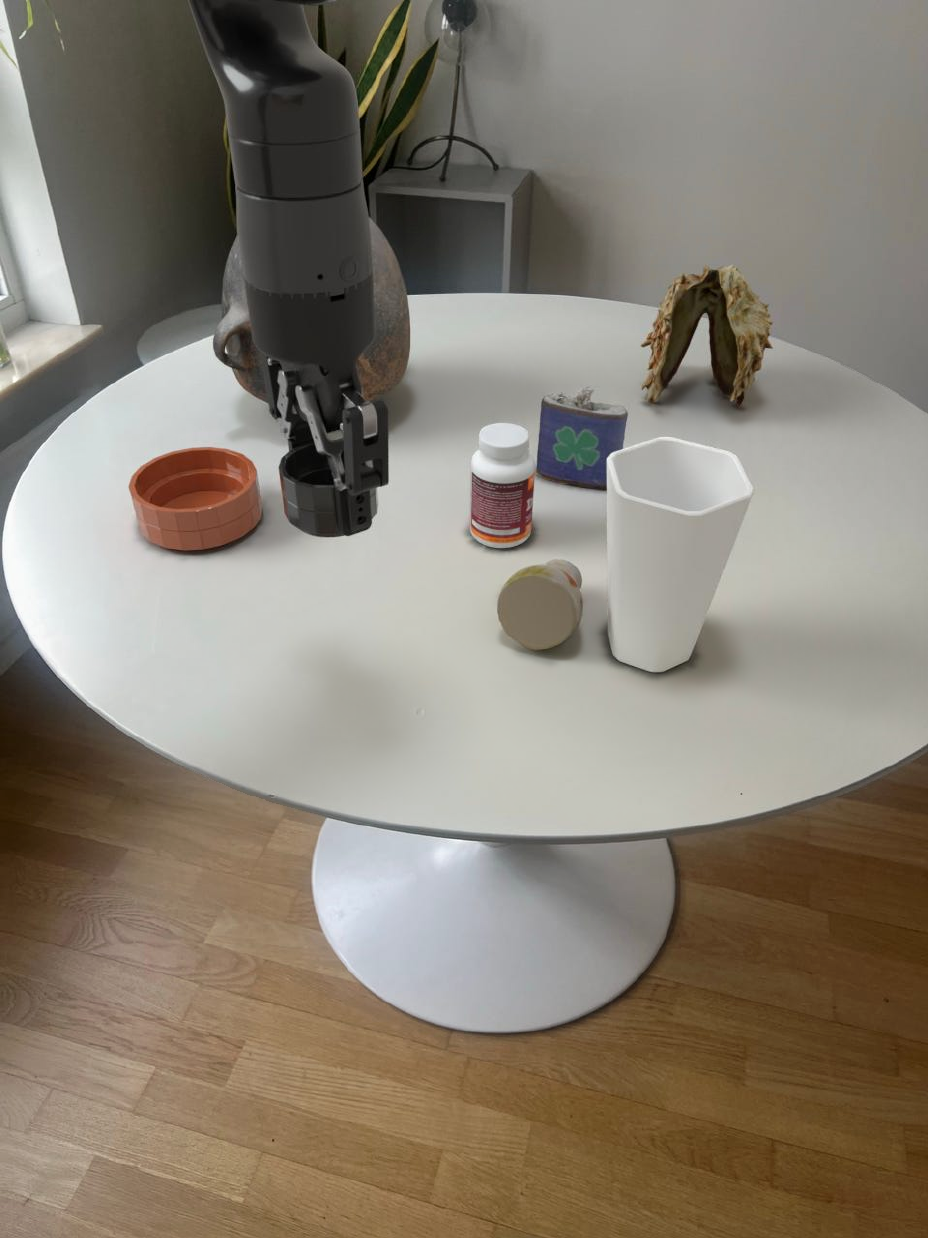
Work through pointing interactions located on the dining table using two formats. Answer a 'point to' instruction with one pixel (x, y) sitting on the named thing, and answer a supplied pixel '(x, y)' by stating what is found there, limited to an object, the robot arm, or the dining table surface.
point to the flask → (578, 438)
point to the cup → (668, 544)
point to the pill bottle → (502, 486)
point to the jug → (374, 366)
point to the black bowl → (312, 491)
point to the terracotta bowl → (196, 498)
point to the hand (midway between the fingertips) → (331, 505)
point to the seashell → (710, 331)
